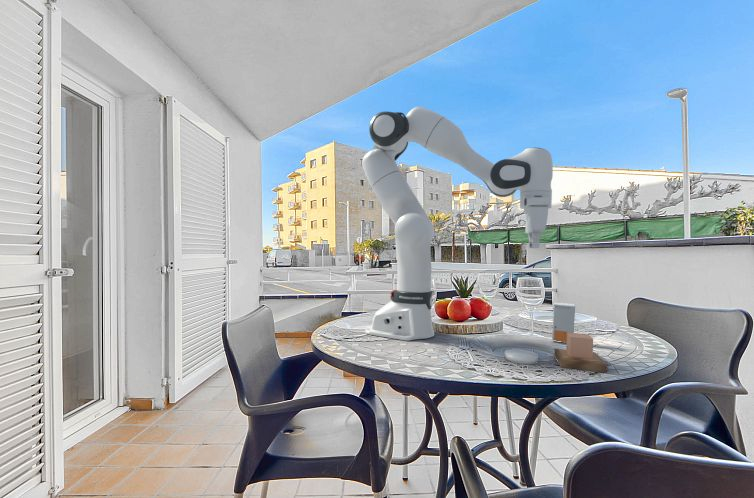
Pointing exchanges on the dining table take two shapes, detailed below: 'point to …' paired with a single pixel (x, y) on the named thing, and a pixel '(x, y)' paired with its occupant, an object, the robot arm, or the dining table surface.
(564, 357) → the walnut coaster
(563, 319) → the skincare box
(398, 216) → the robot arm
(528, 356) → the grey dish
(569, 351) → the terracotta cube
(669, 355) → the dining table surface
